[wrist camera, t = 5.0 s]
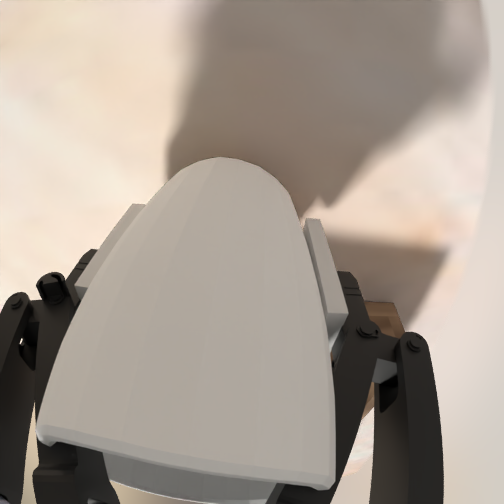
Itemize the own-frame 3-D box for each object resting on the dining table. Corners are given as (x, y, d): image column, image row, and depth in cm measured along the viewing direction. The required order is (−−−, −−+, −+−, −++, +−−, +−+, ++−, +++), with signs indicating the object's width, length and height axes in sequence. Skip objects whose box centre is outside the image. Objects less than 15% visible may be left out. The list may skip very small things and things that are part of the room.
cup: (209, 289, 20) (175, 501, 9) (129, 196, 16) (-9, 416, 5) (323, 238, 18) (379, 488, 6) (251, 115, 14) (203, 422, 2)
